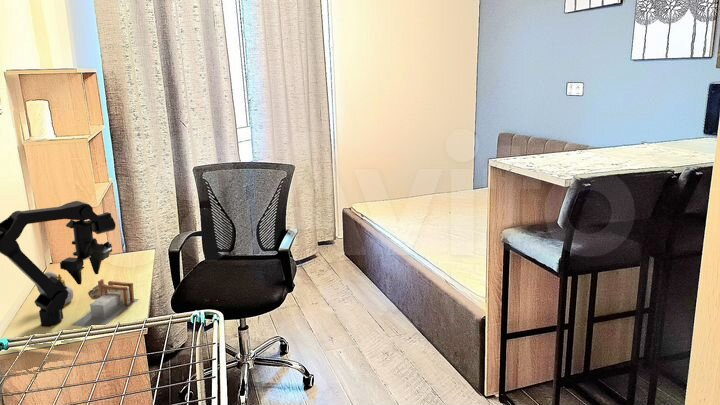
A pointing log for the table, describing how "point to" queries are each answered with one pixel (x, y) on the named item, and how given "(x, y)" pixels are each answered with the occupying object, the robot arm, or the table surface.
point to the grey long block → (107, 304)
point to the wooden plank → (100, 287)
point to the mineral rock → (95, 292)
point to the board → (89, 321)
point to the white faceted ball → (70, 291)
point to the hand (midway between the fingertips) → (88, 279)
